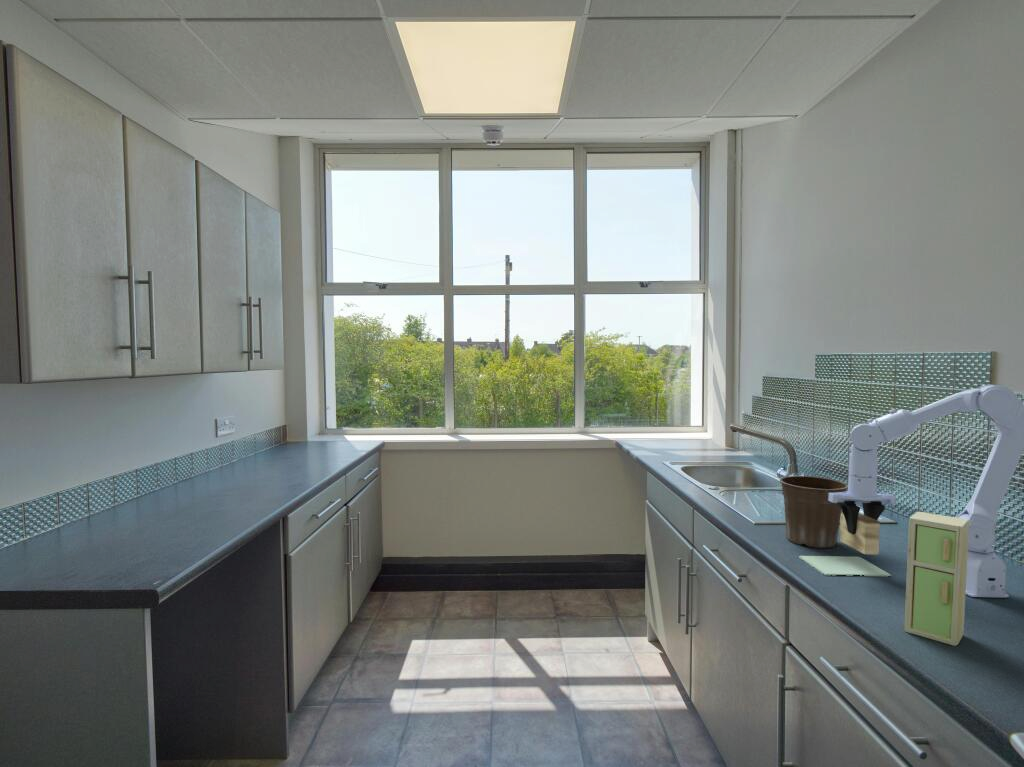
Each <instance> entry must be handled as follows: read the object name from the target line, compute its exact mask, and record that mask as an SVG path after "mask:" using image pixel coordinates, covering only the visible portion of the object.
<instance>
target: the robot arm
mask: <svg viewBox="0 0 1024 767" xmlns="http://www.w3.org/2000/svg"><path fill="white" fill-rule="evenodd" d="M978 410H979V412H981V413H982V414H983V415H985V416H986V417H987V418H989V419H990V422H991V423H992V424H993V426H994V427H995V429H997V432H998V434H997V435H996V436H997V437H996V438H995V441H994V444H993V445H992V448H991V450H990V452H989V456H988V458H987V461H986V462H985V465H984V467H983V470H982V472H981V474H980V477H979V479H978V482H977V484H976V486H975V489H974V492H973V494H972V497H971V499H970V500H969V501H968V502H967V504H966V505H965V507H964V510H963V511H962V512H961V513H959V514H958V515H957V516H956V518H962V519H967V520H969V532H968V553H967V574H966V596H969V597H972V598H1009V597H1010V596H1009V594H1007V593H1006V580H1007V566H1006V564H1005V562H1004V560H1002V559H1001V558H1000V557H998V555H996V553H995V547H994V545H995V543H996V539H997V536H996V533H995V532H996V530H995V528H996V525H997V524H998V523H997V522H998V515H999V509H1000V507H1001V504H1002V503H1003V500H1004V498H1005V495H1006V493H1007V490H1008V488H1009V486H1010V483H1011V481H1012V478H1013V476H1014V474H1015V471H1016V469H1017V467H1018V464H1019V463H1020V460H1021V457H1022V455H1023V453H1024V402H1023V401H1022V400H1021V398H1019V397H1018V395H1017V394H1016V393H1015V392H1014V391H1013V390H1012V389H1010V388H1008V387H1005V386H1003V385H996V384H984V385H982V386H979V387H977V388H970V389H966V390H963V391H960V392H957V393H954V394H952V395H949V396H946V397H944V398H942V399H938V400H937V401H935V402H932V403H930V404H927V405H925V406H921V407H919V408H917V409H915V410H912V411H909V410H907V409H906V410H905V409H903V408H901V409H898V410H897V409H896V408H893V409H890V410H889V413H888V414H885V415H882V416H880V417H877V418H874V419H873V418H869V419H867V423H860V424H857V425H855V426H854V427H853V428H852V430H851V432H850V442H851V443H852V444H851V446H850V449H849V450H850V454H849V459H848V460H849V462H848V482H847V485H848V488H847V491H846V492H837V493H829V498H828V501H830V502H832V503H837V502H838V504H839V506H840V508H841V510H842V512H843V514H844V517H845V520H846V524H847V529H848V532H849V533H851V534H856V529H857V518H858V514H859V513H860V511H861V507H860V506H858V505H857V503H860V504H861V505H862V510H863V515H866V516H868V517H870V518H873V519H875V520H877V521H879V518H880V516H881V515H882V514H883V512H885V509H886V505H884V504H890V505H895V504H896V495H894V494H891V493H879V492H877V485H878V484H877V483H878V465H879V457H878V446H880V443H883V444H884V443H885V444H886V443H889V442H892V441H894V440H897V439H900V438H903V437H905V436H909V435H911V434H913V433H916V430H917V428H918V426H919V425H920V424H921V425H922V424H925V423H927V422H930V421H933V420H936V419H939V418H942V417H944V416H945V417H946V416H948V415H951V414H955V413H958V412H966V413H978Z"/></svg>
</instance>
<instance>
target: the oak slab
mask: <svg viewBox="0 0 1024 767" xmlns="http://www.w3.org/2000/svg"><path fill="white" fill-rule="evenodd" d="M880 527H881V522H880V520H875V519H873V518H870V517H868V516H866V515H864V513H861V512H859V514H858V518H857V529H856V534H851V533H849V532H848V529H847V524H846V520H845V517H844V514H843V512H842V510H841V516H840V523H839V542H841V543H843V544H844V545H846V546H848V547H850V548H852V549H854V550H856V551H858V552H859V553H861V554H863V555H879V550H880V549H879V548H880V547H879V546H880V544H879V543H880V530H881V529H880Z"/></svg>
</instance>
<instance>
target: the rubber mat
mask: <svg viewBox="0 0 1024 767" xmlns="http://www.w3.org/2000/svg"><path fill="white" fill-rule="evenodd" d="M798 557H799V559H800V560H802V561H803V560H804V561H803V562H805V563H807V565H809V566H811V567H812V568H813V567H814V568H813V569H815V570H816V571H818V572H819V573H820V574H822V575H823V574H824V575H823V576H829V577H830V576H831V575H832V576H836V575H846V576H845V577H854V576H853V575H860V576H859V577H888V576H892V574H891V573H888V572H886V571H885V570H883V569H881V568H880V567H879V566H877V565H875V564H873V563H872V562H869V561H868V560H866V559H864V558H862V557H861V556H841V555H840V556H835V555H833V556H832V555H798ZM862 575H864V576H862Z"/></svg>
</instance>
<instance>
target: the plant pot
mask: <svg viewBox="0 0 1024 767" xmlns="http://www.w3.org/2000/svg"><path fill="white" fill-rule="evenodd" d="M779 482H780V483H781V489H782V490H781V491H782V492H781V494H782V496H783V501H784V515H785V516H784V517H785V518H784V519H785V536H786V539H787V540H789V541H790V542H791V543H794V544H796V545H799V546H801V545H805V546H806V547H809V548H817V549H828V548H834V547H835V545H837V544H838V537H839V532H840V524H841V508H840V506H839V504H838V502H837V503H832V502H830V501H828V498H829V493H837V492H847V490H848V483H846V482H843V481H839V480H836V479H832V478H826V477H820V476H811V475H810V476H809V475H790V476H789V475H788V476H784V477H781V478H779Z"/></svg>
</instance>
